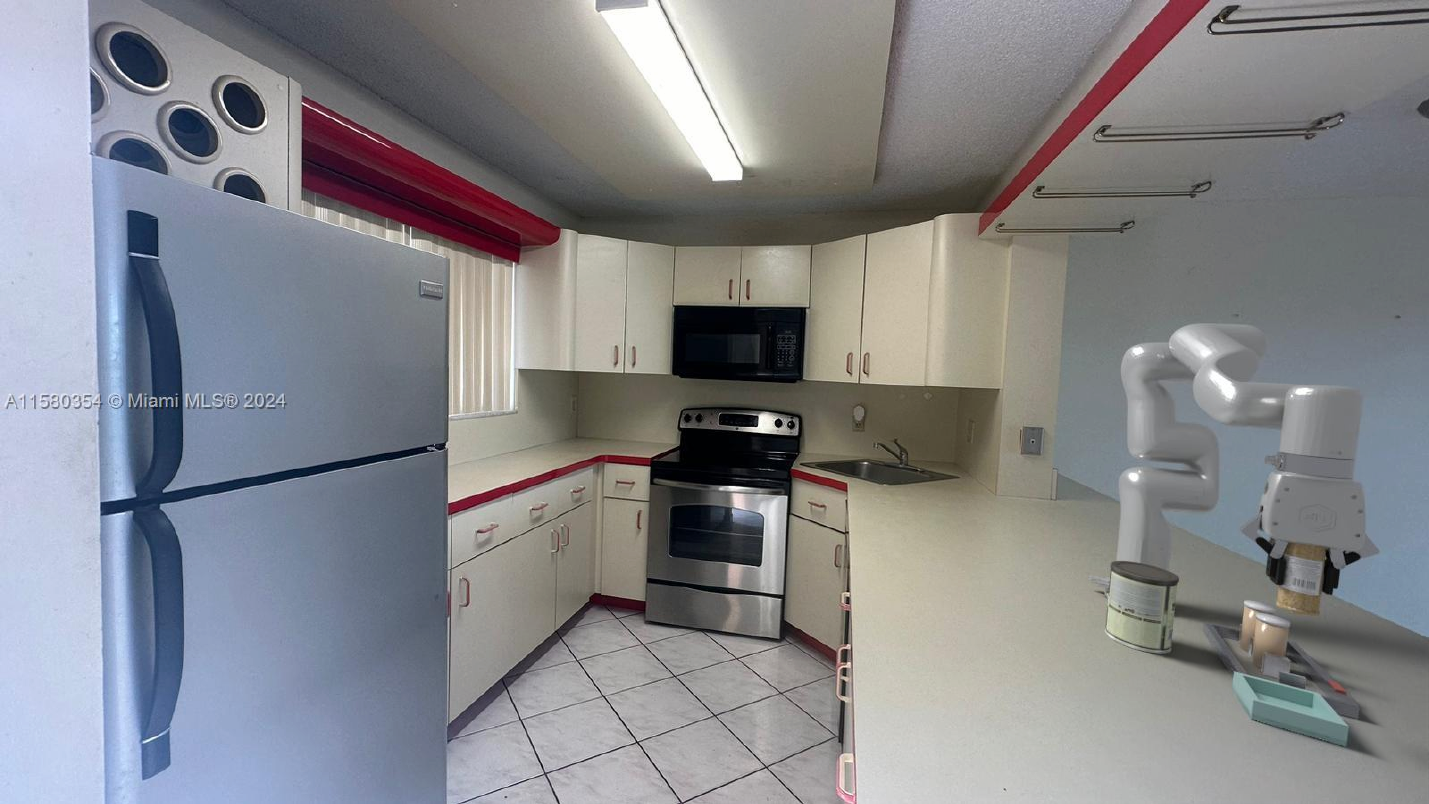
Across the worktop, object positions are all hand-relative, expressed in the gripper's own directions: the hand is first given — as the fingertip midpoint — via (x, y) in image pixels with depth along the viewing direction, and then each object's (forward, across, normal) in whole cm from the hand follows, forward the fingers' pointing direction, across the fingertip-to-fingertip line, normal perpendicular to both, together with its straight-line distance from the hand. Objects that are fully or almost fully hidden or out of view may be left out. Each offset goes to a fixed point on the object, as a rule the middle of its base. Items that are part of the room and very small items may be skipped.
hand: (1299, 585), depth 79 cm
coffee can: (+21, -16, +16) cm, 31 cm away
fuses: (+20, +3, +23) cm, 31 cm away
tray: (+20, 0, 0) cm, 20 cm away
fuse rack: (+20, +3, +18) cm, 28 cm away
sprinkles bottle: (+4, 0, 0) cm, 4 cm away
